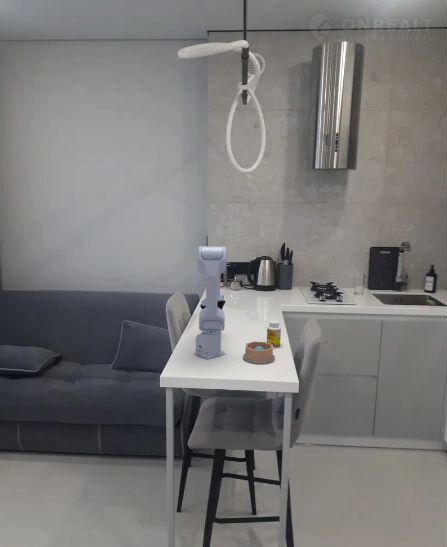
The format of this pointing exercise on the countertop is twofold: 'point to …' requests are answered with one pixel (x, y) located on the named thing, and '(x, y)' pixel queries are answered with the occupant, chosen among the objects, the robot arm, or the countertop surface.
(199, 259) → the robot arm
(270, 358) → the octagonal bowl
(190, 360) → the countertop surface
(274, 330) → the supplement bottle
